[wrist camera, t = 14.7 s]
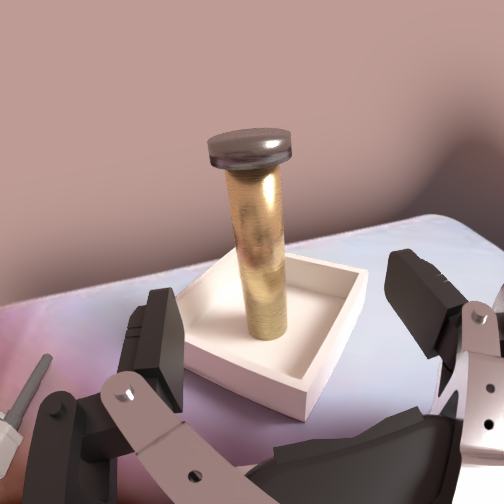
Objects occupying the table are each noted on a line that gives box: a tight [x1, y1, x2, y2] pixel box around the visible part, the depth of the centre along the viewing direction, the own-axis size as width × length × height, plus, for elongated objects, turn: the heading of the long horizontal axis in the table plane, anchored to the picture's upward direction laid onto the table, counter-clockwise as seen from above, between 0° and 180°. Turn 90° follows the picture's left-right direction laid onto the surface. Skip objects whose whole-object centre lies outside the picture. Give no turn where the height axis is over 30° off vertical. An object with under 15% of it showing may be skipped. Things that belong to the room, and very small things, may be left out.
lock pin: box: [207, 128, 292, 341], centre depth 19 cm, size 4×4×14 cm
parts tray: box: [175, 247, 369, 422], centre depth 23 cm, size 12×12×4 cm
